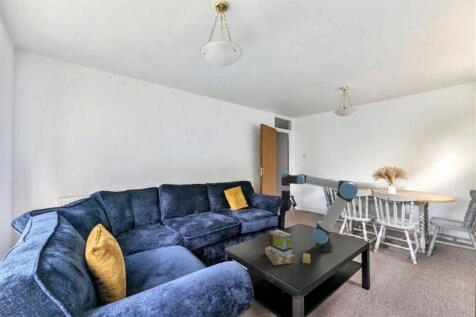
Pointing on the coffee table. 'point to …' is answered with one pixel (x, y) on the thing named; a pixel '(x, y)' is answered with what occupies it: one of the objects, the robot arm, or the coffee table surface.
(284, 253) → the tea box
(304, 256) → the mustard cube
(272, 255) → the oak pedestal
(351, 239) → the coffee table surface
